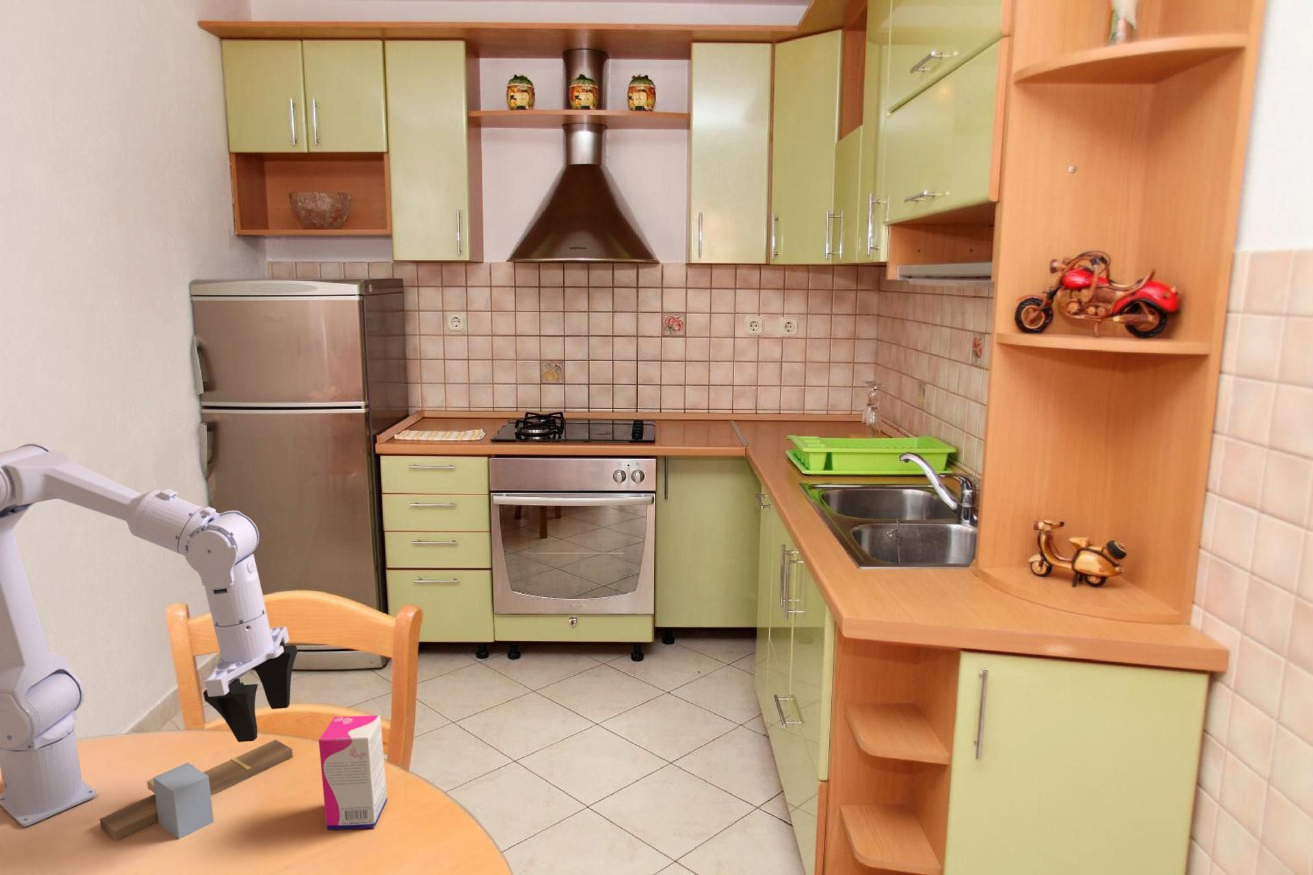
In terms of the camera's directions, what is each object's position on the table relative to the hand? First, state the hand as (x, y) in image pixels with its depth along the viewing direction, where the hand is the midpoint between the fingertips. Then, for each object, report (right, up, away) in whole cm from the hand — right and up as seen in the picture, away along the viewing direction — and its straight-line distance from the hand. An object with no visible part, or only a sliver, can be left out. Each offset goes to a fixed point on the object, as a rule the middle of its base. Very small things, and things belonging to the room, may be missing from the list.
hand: (264, 723), depth 107 cm
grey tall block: (-11, -11, 0) cm, 15 cm away
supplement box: (+11, -11, 0) cm, 16 cm away
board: (-10, -10, +5) cm, 15 cm away
